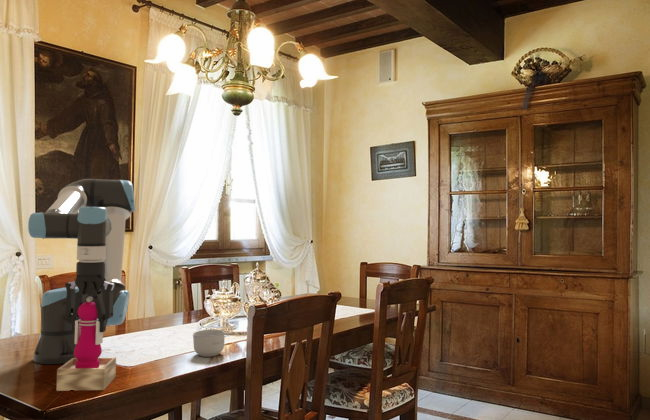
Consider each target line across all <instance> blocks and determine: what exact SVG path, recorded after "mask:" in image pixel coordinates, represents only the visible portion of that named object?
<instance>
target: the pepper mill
mask: <svg viewBox="0 0 650 420" xmlns="http://www.w3.org/2000/svg"><path fill="white" fill-rule="evenodd" d="M86 301H87V302H85V303H83V304H81V305H80V306H79V308H78V316H79V317H80V318H81V319H80V320H79V322H80V323H79V325H81V335H80V338H79V340H78V342H77V344H76V346H75V349H74V356H75V358H76V359H77V360H78V361H76V362H75V368H98V367H99V364H100V361H99V360H98V358H100V356H101V355H102V353H103V352H102V351H103V350H102V343H101V344H99V345H95V343H96V321H98V319H97V317H98V313H97V309H96V305H95V302H92V301H93V298H92V297H87V298H86Z"/></svg>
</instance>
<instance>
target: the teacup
mask: <svg viewBox="0 0 650 420" xmlns="http://www.w3.org/2000/svg"><path fill="white" fill-rule="evenodd" d="M192 339H193V341H192V342H193V343H192V344H193V350H194V352H195V353H196V354H197V355H199V356H200V357H203V358H204V357H205V358H208V357H209V358H210V357H211V358H212V357H216V356H218V355H219V354H220V353H221V352H222V351H223V350H224V349H225V330H223V329H215V328H211V329H203V330H198V331H195V332H193V333H192Z"/></svg>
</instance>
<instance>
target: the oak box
mask: <svg viewBox="0 0 650 420" xmlns="http://www.w3.org/2000/svg"><path fill="white" fill-rule="evenodd" d="M98 360H99V361H100V364H99V367H98V368H75V362H76V361H78V360H77V359H76V358H72V359H71V360H69V361H68V362H67V363H63V365H60V367H58V368H57V369H56V392H60V391H61V392H63V391H65V392H67V391H70V390H74V391H104V390H106V388H107V387H108V386H109V385H110V384H111V383H112V382H113V380H114V379H115V378H116V375H117V374H116V371H117V370H116V369H117V357H98Z"/></svg>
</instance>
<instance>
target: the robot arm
mask: <svg viewBox="0 0 650 420" xmlns="http://www.w3.org/2000/svg"><path fill="white" fill-rule="evenodd" d="M134 193H135V192H134V185H133V183H132V182H131V181H130V180H125V179H105V178H104V179H102V178H100V179H99V178H84V179H79V180H77V181H73V182H71V183H69V184H67V185H65V186H64V187H63V188H61V189H60V191H59V192H58V195H57V199H55V201H54V202H53V203H52V204H51V206H49V208H48V209H47V210H46V211H45V212H41V211H39V212H33V213H31V214H30V215H29V218H28V222H27V223H28V225H27V229H28V234H29V236H30V237H31V238H33V239H43V240H44V239H75V240H77V242H76V243H77V244H76V260H77V261H78V262H76V270H75V273H76V278H75V279H74V281H69V282H65V287H60V288H55V289H50V290H47V291H45V292H44V293H43V294H42V298H41V305H40V308H41V309H40V334H39V335H40V336H39V340H38V343H37V344H36V347H35V350H34V353H33V362H34V363H36V364H40V365H60V364H65V363H67V362H68V361H69V360H71V359H72V358H75V356H74V349H75V346H76V344H77V342H78V340H79V338H80V335H81V325H79V323H80V322H79V320H80V319H81V318H80V317H79V316H78V308H79V306H80V305H81V304H83V303H85V302H87V301H86V298H87V297H92V298H93V301H92V302H95V305H96V309H97V313H98V317H97V319H98V321H96V343H95V345H99V344H101V345H102V344H103V341H104V340H103V338H104V333H105V332H106V331H107V327H111V326H119V325H122V324H123V323H124V321H126V320H125V319H126V317H127V313H128V308H129V302H130V301H129V300H130V291H129V290H127V289H126V285H125V284H124V283H123V282H122V276H123V275H122V273H123V261H124V259H123V258H124V246H125V236H126V235H125V233H126V220H128V219H129V218H130V217H131V213H133V212H135V211H136V205H135V204H136V203H135V194H134Z"/></svg>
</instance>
